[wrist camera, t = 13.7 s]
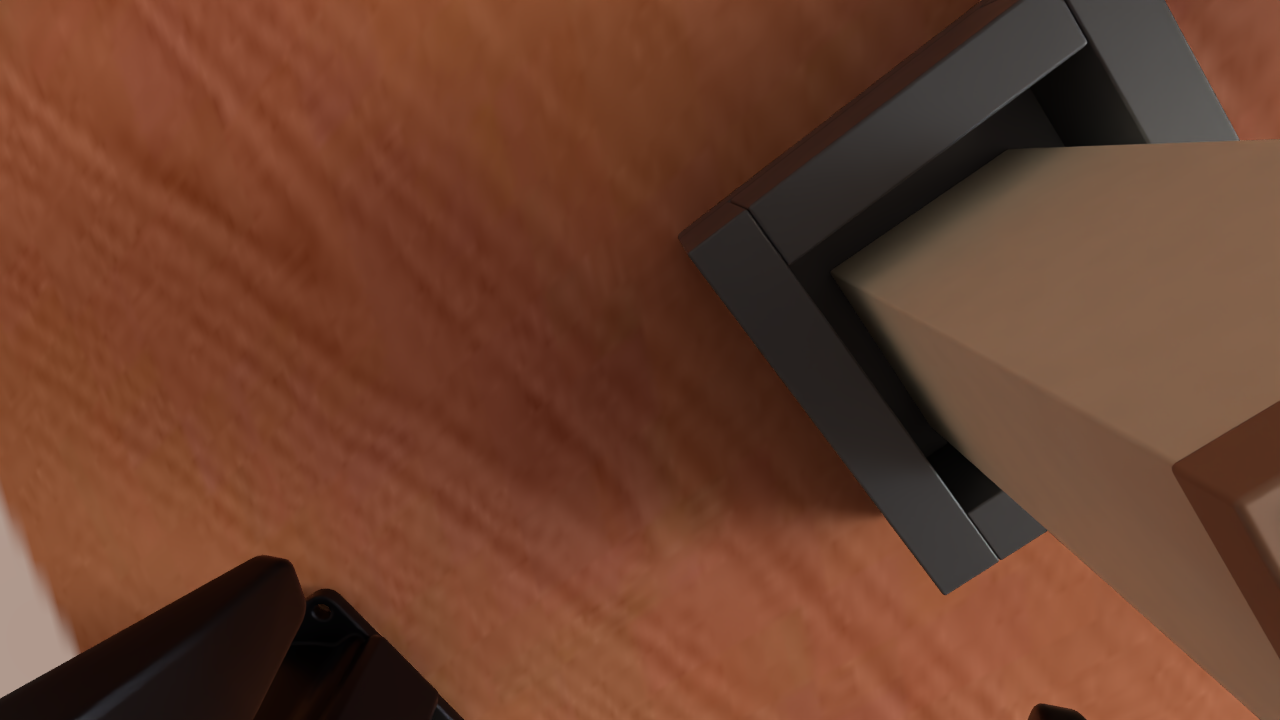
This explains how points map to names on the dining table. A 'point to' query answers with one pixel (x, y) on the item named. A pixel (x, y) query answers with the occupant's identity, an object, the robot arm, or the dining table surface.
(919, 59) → the dark grey square tray
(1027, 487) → the tan rectangular block
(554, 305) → the dining table surface
